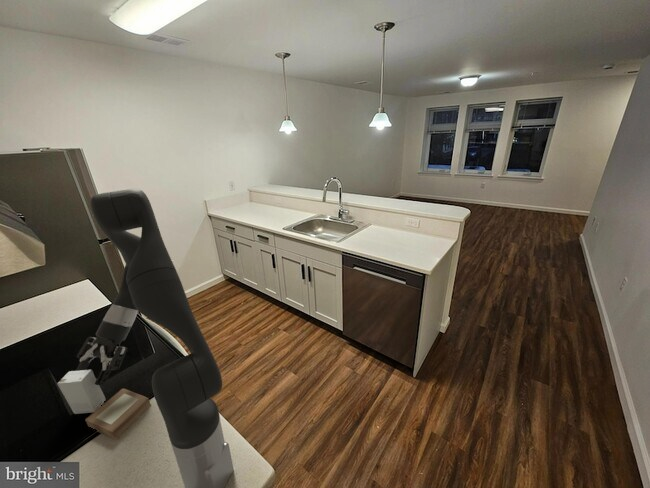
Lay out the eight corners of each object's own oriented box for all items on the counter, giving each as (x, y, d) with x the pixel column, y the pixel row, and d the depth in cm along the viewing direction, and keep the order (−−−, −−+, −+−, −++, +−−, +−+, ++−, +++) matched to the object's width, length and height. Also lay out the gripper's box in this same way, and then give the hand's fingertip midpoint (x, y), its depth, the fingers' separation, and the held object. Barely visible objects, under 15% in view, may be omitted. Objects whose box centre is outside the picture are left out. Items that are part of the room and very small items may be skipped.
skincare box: (106, 399, 78) (93, 367, 74) (96, 413, 74) (81, 381, 70) (84, 401, 78) (69, 369, 73) (72, 415, 74) (56, 383, 69)
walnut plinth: (150, 405, 76) (148, 397, 75) (115, 440, 68) (112, 431, 67) (125, 395, 79) (122, 387, 78) (88, 427, 71) (85, 419, 69)
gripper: (89, 315, 79) (57, 374, 73) (124, 325, 75) (92, 388, 69) (112, 319, 86) (84, 373, 80) (145, 329, 82) (118, 386, 76)
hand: (88, 380), depth 75 cm, fingers open, 8 cm apart
